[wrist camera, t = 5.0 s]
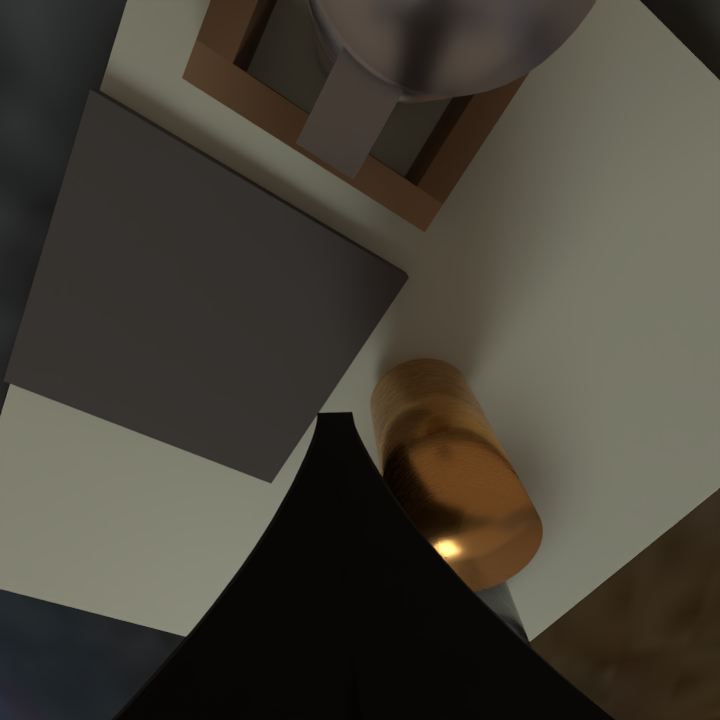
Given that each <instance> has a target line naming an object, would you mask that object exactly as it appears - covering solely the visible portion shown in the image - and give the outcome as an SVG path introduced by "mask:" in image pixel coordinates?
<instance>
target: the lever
mask: <svg viewBox="0 0 720 720" xmlns="http://www.w3.org/2000/svg"><path fill="white" fill-rule="evenodd" d="M370 410H371V416H372V423H373V429H374V436H375V442H376V449H377V455H378V462H379V468H380V474H381V475H382V477H383V478H384V480H385V482H386V483H387V485H388V486H389V488H390V489H391V491H392V492H393V494H394V495H395V497H396V498H397V500H398V501H399V503H400V504H401V505H402V507H403V508H404V510H405V511H406V512H407V514H408V515H409V517H410V518H411V519H412V521H413V522H414V523H415V525H416V526H417V527H418V528H419V530H420V531H421V532H422V534H423V535H424V536H425V537H426V539H427V540H428V541H429V542H430V543H431V545H432V546H433V547H434V548H435V549H436V551H437V552H438V553H439V554H440V555H441V556H442V558H443V559H444V560H445V561H446V562H447V563H448V564H449V566H450V567H451V568H452V569H453V570H454V571H455V572H456V573H457V574H458V576H459V577H460V578H461V579H462V580H463V581H464V582H465V583H466V584H467V585H468V586H469V588H470V589H471V590H472V591H473V592H476V591H480V590H484V589H487V588H490V587H493V586H495V585H498V584H500V583H502V582H504V581H506V580H508V579H510V578H511V577H513V576H514V575H516V574H517V573H518V572H520V571H521V570H522V569H523V568H524V567H525V566H527V565H528V564H529V562H530V561H531V560H532V559H533V558H534V556H535V554H536V553H537V551H538V549H539V547H540V545H541V541H542V537H543V526H542V522H541V519H540V516H539V515H538V513H537V511H536V509H535V507H534V505H533V503H532V502H531V500H530V498H529V496H528V494H527V492H526V490H525V488H524V487H523V485H522V483H521V481H520V479H519V477H518V475H517V473H516V472H515V470H514V468H513V466H512V464H511V462H510V460H509V459H508V457H507V455H506V453H505V451H504V449H503V447H502V445H501V444H500V442H499V440H498V438H497V436H496V434H495V432H494V430H493V429H492V427H491V425H490V423H489V421H488V419H487V417H486V416H485V414H484V412H483V410H482V408H481V406H480V404H479V402H478V401H477V399H476V397H475V395H474V393H473V391H472V389H471V387H470V386H469V384H468V382H467V380H466V378H465V377H464V375H463V374H462V373H461V372H460V371H459V370H458V369H457V368H456V367H454V366H453V365H451V364H449V363H447V362H444V361H441V360H437V359H430V358H420V359H414V360H410V361H406V362H404V363H401V364H399V365H397V366H395V367H393V368H392V369H391V370H389V371H388V372H387V373H386V374H384V375H383V376H382V378H381V379H380V380H379V381H378V383H377V384H376V386H375V388H374V390H373V392H372V396H371V401H370Z"/></svg>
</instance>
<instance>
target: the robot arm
mask: <svg viewBox="0 0 720 720" xmlns="http://www.w3.org/2000/svg"><path fill="white" fill-rule="evenodd" d="M112 720H614V719H613V718H612V717H611V716H609V715H608V714H607V713H606V712H604V711H603V710H602V709H601V708H600V707H598V706H597V705H596V704H595V703H594V702H593V701H591V700H590V699H589V698H588V697H587V696H585V695H584V694H583V693H582V692H581V691H580V690H578V689H577V688H576V687H575V686H574V685H572V684H571V683H570V682H569V681H568V680H567V679H565V678H564V677H563V676H562V675H561V674H560V673H559V672H558V671H556V670H555V669H554V668H553V667H552V666H551V665H550V664H549V663H548V662H546V661H545V660H544V659H543V658H542V657H541V656H540V655H539V654H538V653H536V652H535V651H534V650H533V649H532V648H531V647H530V646H529V645H527V644H526V643H525V642H524V641H523V640H522V639H521V638H520V637H519V636H518V635H517V634H516V633H515V632H514V631H513V630H512V629H511V628H510V627H509V626H508V625H507V624H506V623H505V622H504V621H503V620H502V619H501V618H500V617H499V616H498V615H497V614H496V613H495V612H494V611H493V610H492V609H491V608H490V607H489V606H488V605H487V604H485V603H484V602H483V601H482V600H481V599H480V598H479V597H478V596H477V595H476V594H475V593H474V592H473V591H472V590H471V589H470V588H469V586H468V585H467V584H466V583H465V582H464V581H463V580H462V579H461V578H460V577H459V576H458V574H457V573H456V572H455V571H454V570H453V569H452V568H451V567H450V566H449V564H448V563H447V562H446V561H445V560H444V559H443V558H442V556H441V555H440V554H439V553H438V552H437V551H436V549H435V548H434V547H433V546H432V545H431V543H430V542H429V541H428V540H427V539H426V537H425V536H424V535H423V534H422V532H421V531H420V530H419V528H418V527H417V526H416V525H415V523H414V522H413V521H412V519H411V518H410V517H409V515H408V514H407V512H406V511H405V510H404V508H403V507H402V505H401V504H400V503H399V501H398V500H397V498H396V497H395V495H394V494H393V492H392V491H391V489H390V488H389V486H388V485H387V483H386V482H385V480H384V478H383V477H382V475H381V474H380V472H379V470H378V469H377V467H376V465H375V464H374V462H373V460H372V459H371V457H370V455H369V453H368V451H367V449H366V447H365V446H364V444H363V442H362V440H361V438H360V435H359V433H358V431H357V429H356V426H355V424H354V418H353V413H352V412H327V413H317V422H316V427H315V430H314V434H313V437H312V440H311V442H310V445H309V447H308V450H307V452H306V455H305V457H304V459H303V461H302V464H301V466H300V468H299V470H298V472H297V474H296V476H295V478H294V480H293V482H292V484H291V486H290V488H289V490H288V492H287V494H286V495H285V497H284V499H283V501H282V503H281V504H280V506H279V508H278V510H277V511H276V513H275V515H274V517H273V518H272V520H271V522H270V523H269V525H268V527H267V528H266V530H265V531H264V533H263V535H262V536H261V538H260V539H259V541H258V542H257V544H256V545H255V547H254V548H253V550H252V551H251V553H250V554H249V556H248V557H247V559H246V560H245V561H244V563H243V564H242V566H241V567H240V569H239V570H238V571H237V573H236V574H235V575H234V577H233V578H232V579H231V581H230V582H229V583H228V585H227V586H226V587H225V589H224V590H223V591H222V593H221V594H220V595H219V597H218V598H217V599H216V601H215V602H214V603H213V605H212V606H211V607H210V608H209V610H208V611H207V612H206V613H205V615H204V616H203V617H202V618H201V620H200V621H199V622H198V623H197V625H196V626H195V627H194V628H193V629H192V631H191V632H190V633H189V634H188V635H187V636H186V637H185V639H184V640H183V641H182V642H181V643H180V644H179V646H178V647H177V648H176V649H175V650H174V651H173V652H172V654H171V655H170V656H169V657H168V658H167V659H166V660H165V662H164V663H163V664H162V665H161V666H160V667H159V668H158V670H157V671H156V672H155V673H154V674H153V675H152V676H151V678H150V679H149V680H148V681H147V682H146V683H145V684H144V686H143V687H142V688H141V689H140V690H139V691H138V692H137V693H136V694H135V696H134V697H133V698H132V699H131V700H130V701H129V702H128V703H127V704H126V705H125V706H124V707H123V709H122V710H121V711H120V712H119V713H118V714H117V715H116V716H115V717H114V718H113V719H112Z"/></svg>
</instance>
